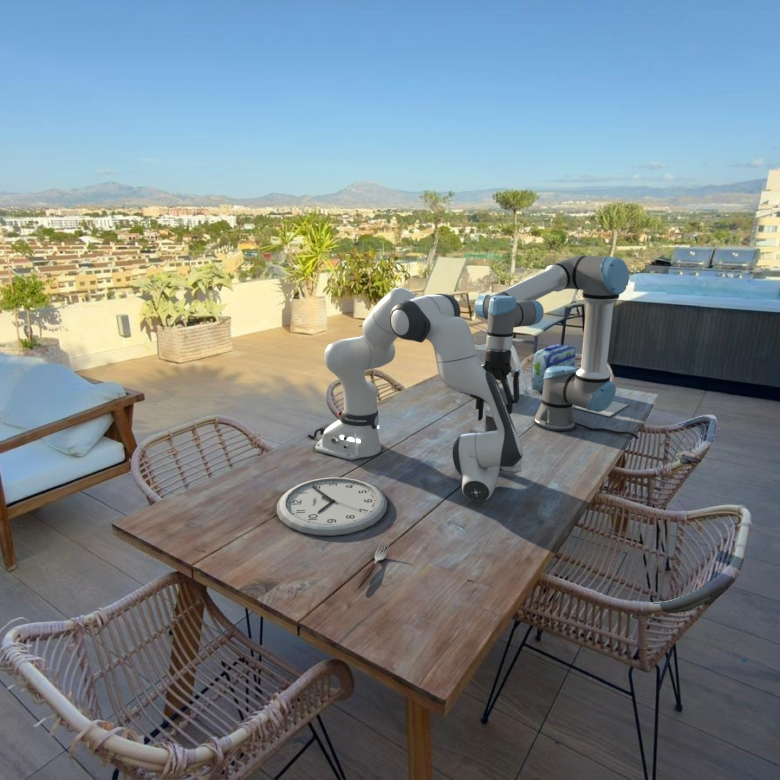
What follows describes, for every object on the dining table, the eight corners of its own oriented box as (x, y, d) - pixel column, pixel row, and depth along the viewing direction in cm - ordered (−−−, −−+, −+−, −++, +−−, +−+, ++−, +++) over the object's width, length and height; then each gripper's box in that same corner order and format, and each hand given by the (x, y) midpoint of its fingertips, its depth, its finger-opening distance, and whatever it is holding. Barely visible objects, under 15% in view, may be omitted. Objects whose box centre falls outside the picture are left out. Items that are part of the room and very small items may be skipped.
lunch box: (547, 397, 237) (552, 352, 231) (526, 391, 245) (531, 348, 238) (574, 386, 255) (580, 344, 249) (554, 381, 262) (559, 340, 256)
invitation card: (608, 416, 214) (573, 407, 224) (608, 416, 214) (573, 408, 224) (628, 404, 229) (594, 396, 238) (628, 405, 229) (594, 397, 238)
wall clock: (392, 527, 129) (268, 531, 127) (391, 533, 130) (269, 537, 127) (383, 473, 158) (282, 475, 155) (383, 478, 158) (282, 480, 156)
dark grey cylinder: (480, 470, 165) (485, 412, 159) (483, 464, 169) (487, 407, 163) (495, 472, 164) (499, 414, 158) (497, 466, 168) (502, 409, 162)
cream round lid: (499, 418, 158) (499, 412, 157) (483, 415, 160) (483, 410, 159) (503, 413, 162) (504, 407, 161) (487, 410, 164) (488, 405, 164)
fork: (352, 589, 110) (352, 581, 109) (380, 547, 124) (380, 540, 123) (364, 592, 109) (364, 583, 108) (390, 550, 123) (390, 542, 123)
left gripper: (521, 463, 149) (525, 444, 161) (451, 452, 155) (459, 436, 167) (519, 482, 151) (523, 463, 163) (450, 472, 157) (458, 454, 169)
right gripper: (535, 350, 154) (528, 422, 161) (469, 343, 162) (465, 412, 169) (530, 355, 148) (523, 430, 154) (462, 347, 155) (457, 419, 162)
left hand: (490, 449), depth 165 cm, fingers closed on dark grey cylinder, 4 cm apart
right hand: (492, 421), depth 162 cm, fingers open, 7 cm apart
